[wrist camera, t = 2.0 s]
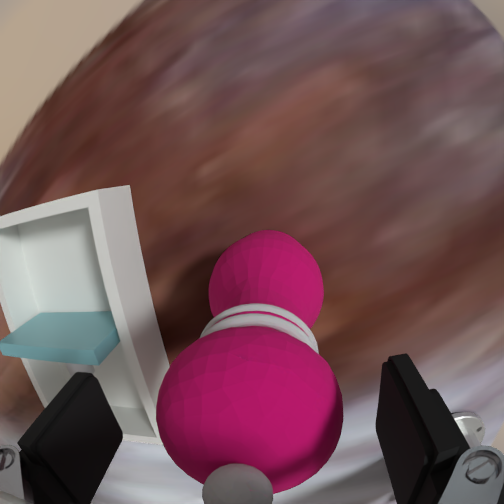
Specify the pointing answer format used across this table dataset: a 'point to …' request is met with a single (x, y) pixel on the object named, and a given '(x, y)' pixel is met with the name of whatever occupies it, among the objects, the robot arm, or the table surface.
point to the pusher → (65, 339)
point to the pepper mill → (254, 378)
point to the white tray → (88, 296)
